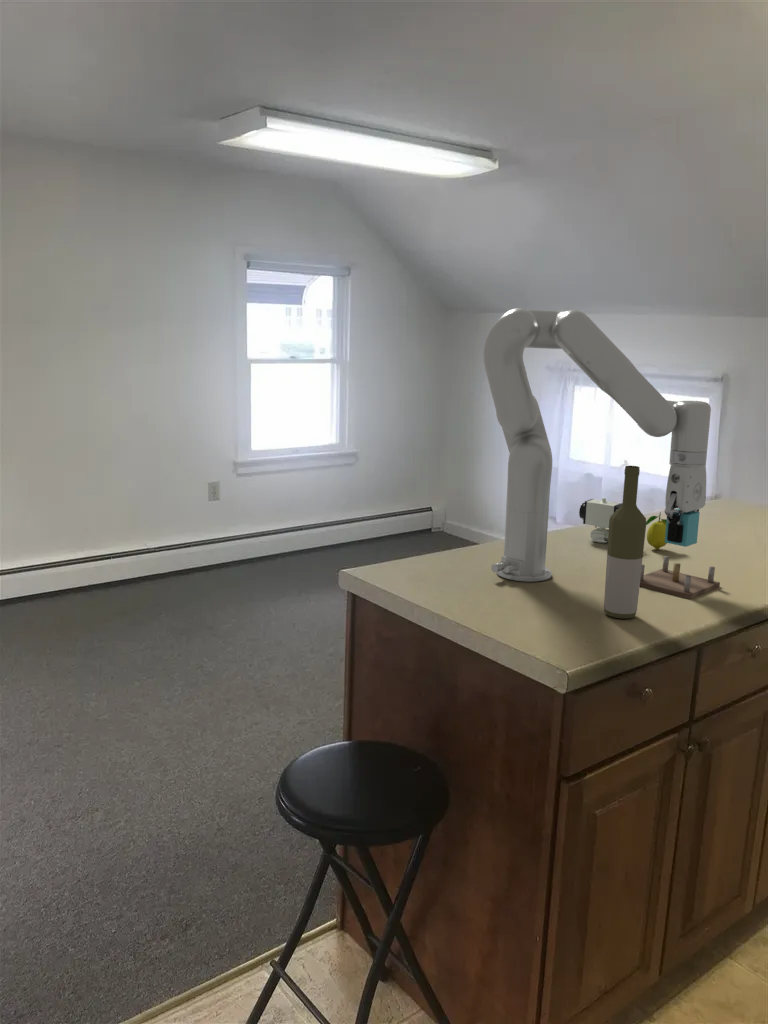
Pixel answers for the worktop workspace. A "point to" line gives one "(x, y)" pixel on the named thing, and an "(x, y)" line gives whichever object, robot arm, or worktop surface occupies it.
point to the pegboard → (678, 581)
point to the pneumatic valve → (598, 517)
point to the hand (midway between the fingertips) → (680, 538)
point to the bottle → (625, 552)
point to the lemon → (656, 532)
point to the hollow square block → (687, 529)
